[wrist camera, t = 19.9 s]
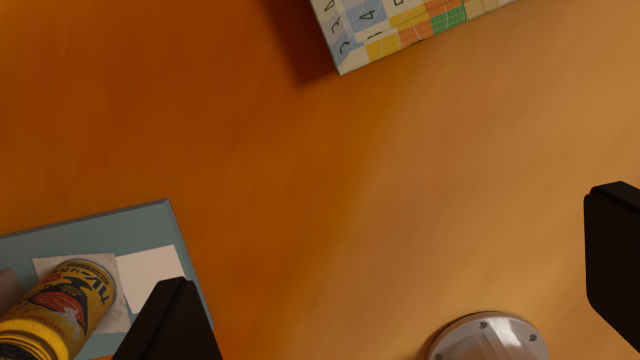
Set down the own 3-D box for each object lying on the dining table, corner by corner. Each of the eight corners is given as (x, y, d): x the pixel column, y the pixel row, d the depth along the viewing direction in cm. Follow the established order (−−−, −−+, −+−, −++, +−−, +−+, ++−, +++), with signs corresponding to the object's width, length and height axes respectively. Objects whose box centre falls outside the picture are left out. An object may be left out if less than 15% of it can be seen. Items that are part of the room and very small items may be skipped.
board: (214, 325, 44) (203, 361, 39) (-14, 373, 45) (-51, 413, 40) (168, 197, 39) (149, 220, 35) (-83, 254, 40) (-135, 283, 36)
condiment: (114, 251, 40) (37, 340, 28) (133, 330, 42) (69, 440, 31) (33, 257, 40) (-77, 347, 28) (56, 335, 42) (-36, 447, 31)
